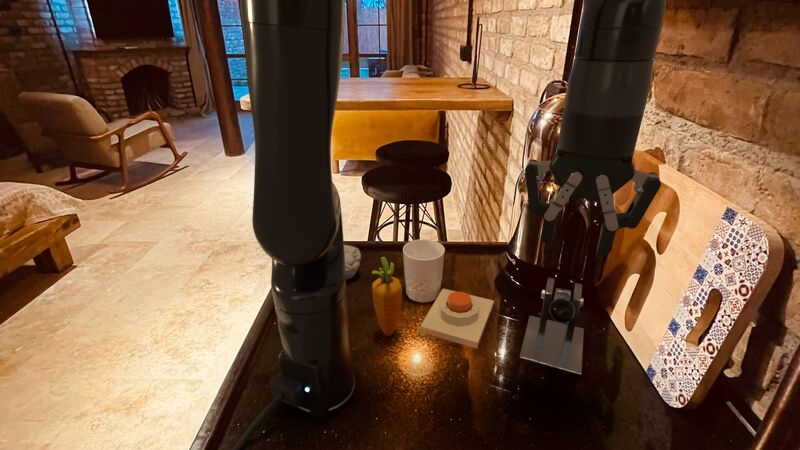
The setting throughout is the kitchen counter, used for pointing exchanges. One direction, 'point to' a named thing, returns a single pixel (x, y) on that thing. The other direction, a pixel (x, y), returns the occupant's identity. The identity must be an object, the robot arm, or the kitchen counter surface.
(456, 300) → the button
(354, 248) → the frog figurine
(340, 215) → the robot arm
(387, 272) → the carrot
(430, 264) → the white cup
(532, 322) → the bracket
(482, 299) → the control block
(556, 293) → the lever
